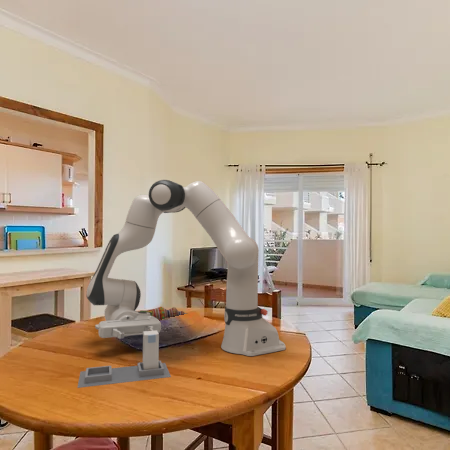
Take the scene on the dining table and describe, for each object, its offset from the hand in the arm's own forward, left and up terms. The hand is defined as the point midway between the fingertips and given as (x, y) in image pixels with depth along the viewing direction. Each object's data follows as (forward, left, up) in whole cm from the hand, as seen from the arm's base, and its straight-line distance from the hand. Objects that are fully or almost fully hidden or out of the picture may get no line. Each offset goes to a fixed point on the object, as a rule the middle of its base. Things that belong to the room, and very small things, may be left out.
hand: (136, 334), depth 115 cm
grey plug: (-3, +12, -7) cm, 14 cm away
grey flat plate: (+4, +12, -8) cm, 15 cm away
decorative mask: (-14, -44, -9) cm, 47 cm away
